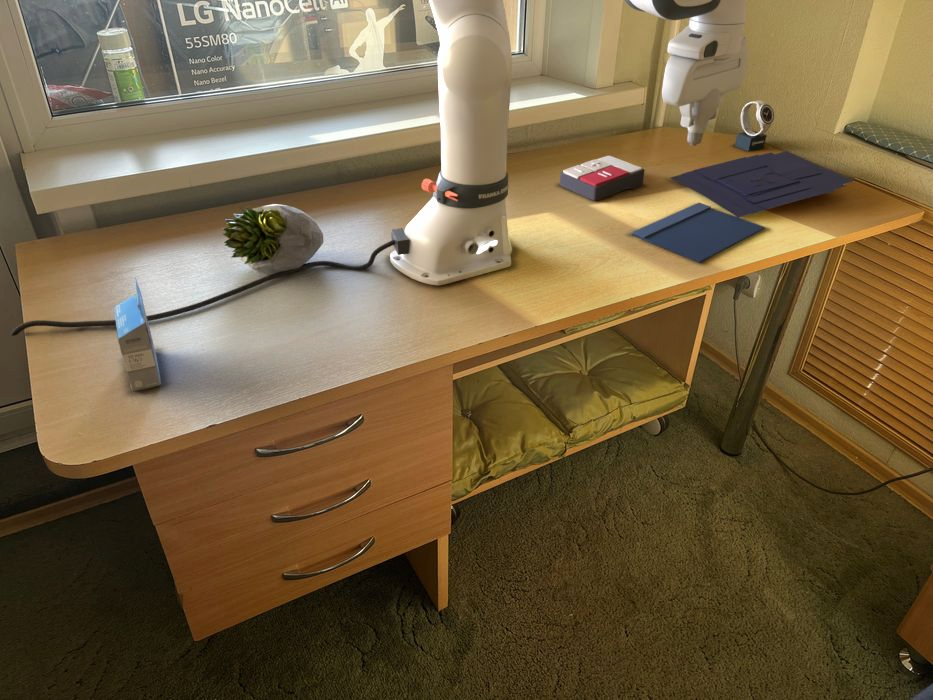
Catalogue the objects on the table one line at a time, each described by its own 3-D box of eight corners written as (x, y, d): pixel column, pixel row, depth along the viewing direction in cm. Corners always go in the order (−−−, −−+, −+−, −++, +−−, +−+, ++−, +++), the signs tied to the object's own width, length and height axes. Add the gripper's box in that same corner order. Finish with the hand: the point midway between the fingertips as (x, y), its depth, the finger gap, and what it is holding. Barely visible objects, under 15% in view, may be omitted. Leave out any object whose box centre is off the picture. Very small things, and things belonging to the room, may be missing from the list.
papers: (859, 196, 147) (863, 179, 145) (737, 230, 141) (739, 213, 138) (779, 160, 166) (781, 144, 164) (667, 188, 160) (669, 173, 157)
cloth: (699, 263, 125) (700, 259, 125) (631, 235, 134) (632, 231, 134) (764, 228, 137) (765, 225, 137) (698, 205, 146) (698, 202, 146)
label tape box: (127, 357, 100) (102, 280, 93) (158, 351, 101) (136, 274, 94) (131, 392, 93) (105, 312, 86) (164, 385, 94) (141, 305, 87)
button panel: (559, 169, 152) (608, 152, 160) (558, 187, 155) (607, 170, 162) (596, 184, 145) (646, 166, 152) (594, 204, 148) (643, 185, 155)
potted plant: (335, 254, 119) (258, 261, 108) (296, 282, 128) (220, 291, 117) (312, 187, 120) (233, 188, 109) (274, 220, 129) (197, 223, 118)
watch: (754, 153, 173) (765, 107, 167) (729, 144, 179) (739, 99, 173) (770, 149, 176) (781, 104, 169) (744, 140, 181) (754, 96, 175)
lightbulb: (712, 152, 125) (725, 87, 119) (676, 149, 126) (688, 85, 120) (709, 141, 130) (722, 79, 124) (675, 139, 131) (686, 77, 125)
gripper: (731, 28, 126) (715, 107, 134) (662, 43, 115) (649, 129, 122) (763, 34, 122) (745, 115, 130) (695, 50, 111) (679, 138, 118)
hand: (698, 122), depth 126 cm, fingers closed on lightbulb, 6 cm apart
